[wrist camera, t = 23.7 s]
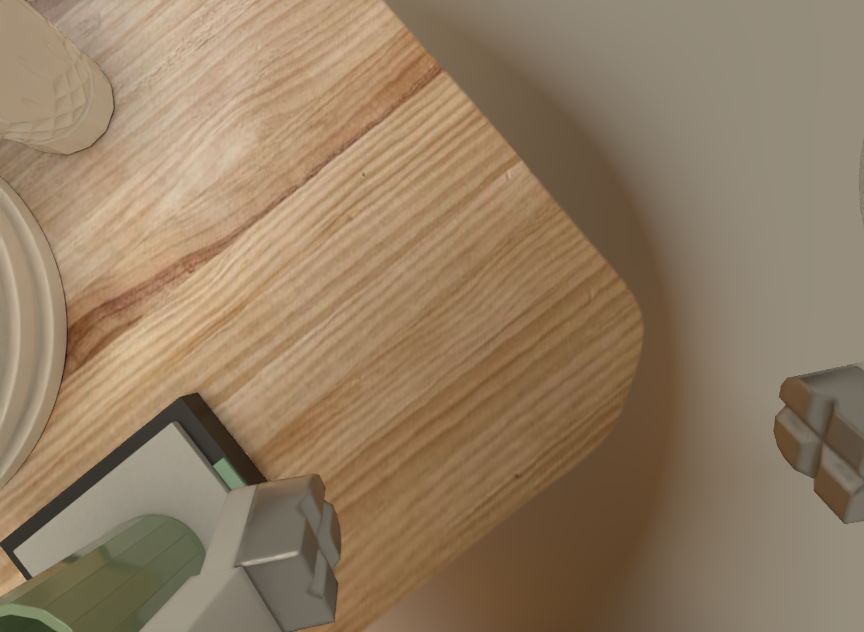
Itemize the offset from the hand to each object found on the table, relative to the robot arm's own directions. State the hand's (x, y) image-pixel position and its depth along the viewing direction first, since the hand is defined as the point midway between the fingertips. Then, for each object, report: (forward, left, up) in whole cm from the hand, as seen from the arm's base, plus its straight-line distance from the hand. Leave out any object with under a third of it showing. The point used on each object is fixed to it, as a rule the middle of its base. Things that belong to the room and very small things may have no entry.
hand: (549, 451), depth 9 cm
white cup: (+29, -13, -24) cm, 40 cm away
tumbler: (+17, +15, -21) cm, 30 cm away
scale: (+17, +14, -24) cm, 32 cm away
